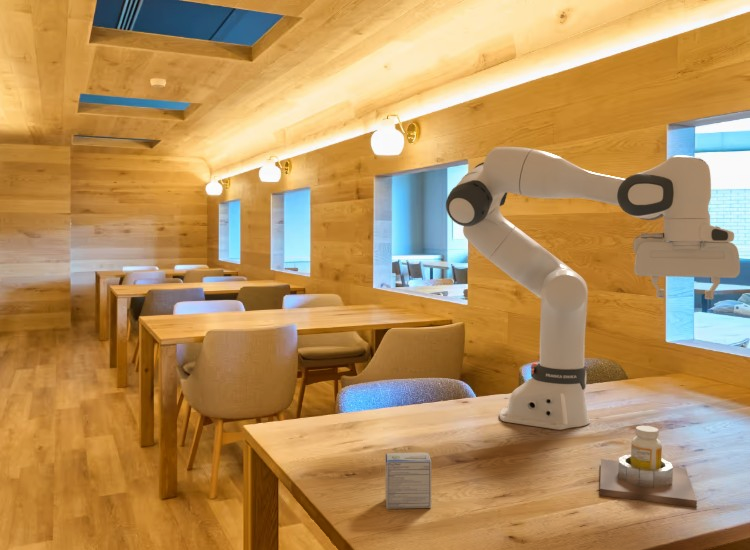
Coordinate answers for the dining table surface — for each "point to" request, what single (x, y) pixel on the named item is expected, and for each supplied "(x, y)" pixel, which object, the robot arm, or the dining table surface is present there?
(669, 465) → the holder board
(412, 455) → the medicine box
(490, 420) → the dining table surface
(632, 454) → the supplement bottle
